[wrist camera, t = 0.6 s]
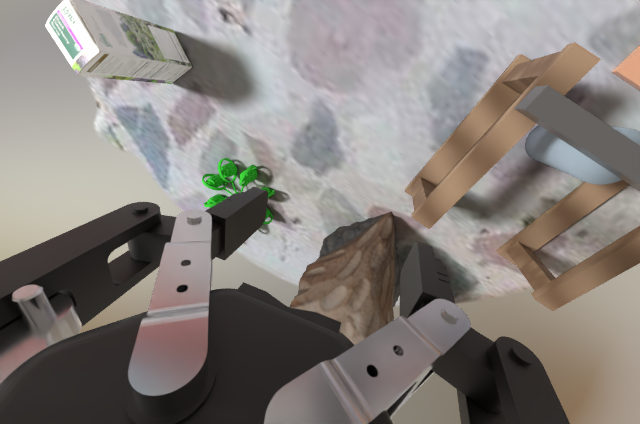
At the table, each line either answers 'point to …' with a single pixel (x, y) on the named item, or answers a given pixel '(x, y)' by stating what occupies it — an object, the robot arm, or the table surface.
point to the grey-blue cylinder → (571, 156)
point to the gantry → (499, 139)
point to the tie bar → (583, 132)
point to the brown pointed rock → (354, 278)
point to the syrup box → (116, 44)
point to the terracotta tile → (630, 69)
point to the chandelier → (227, 172)
